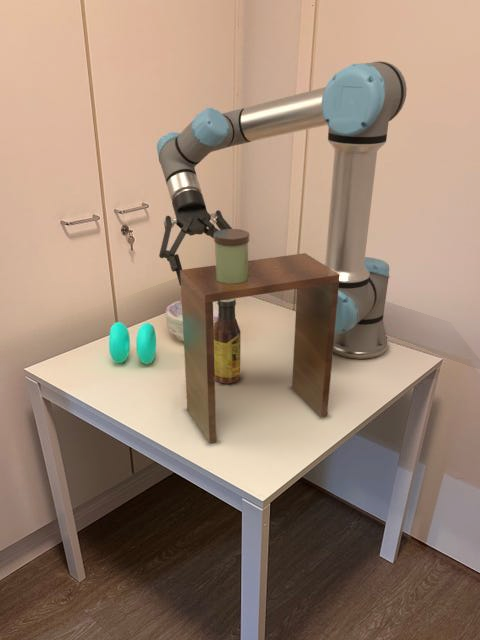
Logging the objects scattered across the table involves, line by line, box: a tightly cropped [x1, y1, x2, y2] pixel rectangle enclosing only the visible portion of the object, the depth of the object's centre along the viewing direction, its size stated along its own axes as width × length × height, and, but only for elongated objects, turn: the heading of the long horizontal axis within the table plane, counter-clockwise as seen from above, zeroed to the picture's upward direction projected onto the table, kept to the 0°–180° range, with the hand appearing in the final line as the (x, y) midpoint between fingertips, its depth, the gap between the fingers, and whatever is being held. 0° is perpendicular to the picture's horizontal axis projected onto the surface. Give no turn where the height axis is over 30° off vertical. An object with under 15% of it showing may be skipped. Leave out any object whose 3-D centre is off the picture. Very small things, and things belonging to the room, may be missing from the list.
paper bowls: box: [165, 299, 219, 343], centre depth 168 cm, size 15×15×8 cm
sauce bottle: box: [214, 298, 242, 385], centre depth 145 cm, size 6×6×20 cm
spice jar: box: [213, 228, 250, 284], centre depth 115 cm, size 6×6×8 cm
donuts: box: [108, 321, 157, 365], centre depth 155 cm, size 10×10×10 cm
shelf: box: [180, 252, 340, 444], centre depth 129 cm, size 27×14×32 cm, turn 113°
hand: (210, 279), depth 147 cm, fingers open, 13 cm apart
